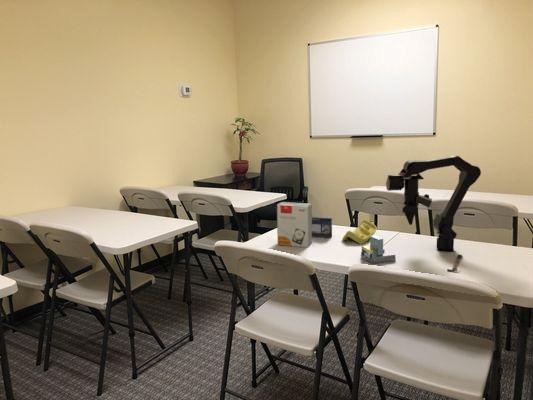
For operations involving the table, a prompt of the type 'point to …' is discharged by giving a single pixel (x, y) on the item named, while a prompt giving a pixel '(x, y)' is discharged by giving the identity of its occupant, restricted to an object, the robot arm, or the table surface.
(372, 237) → the grey-blue brushed block
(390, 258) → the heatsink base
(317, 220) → the vhs cassette tape
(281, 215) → the hard drive box
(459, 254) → the tomahawk
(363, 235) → the plastic component
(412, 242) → the table surface
